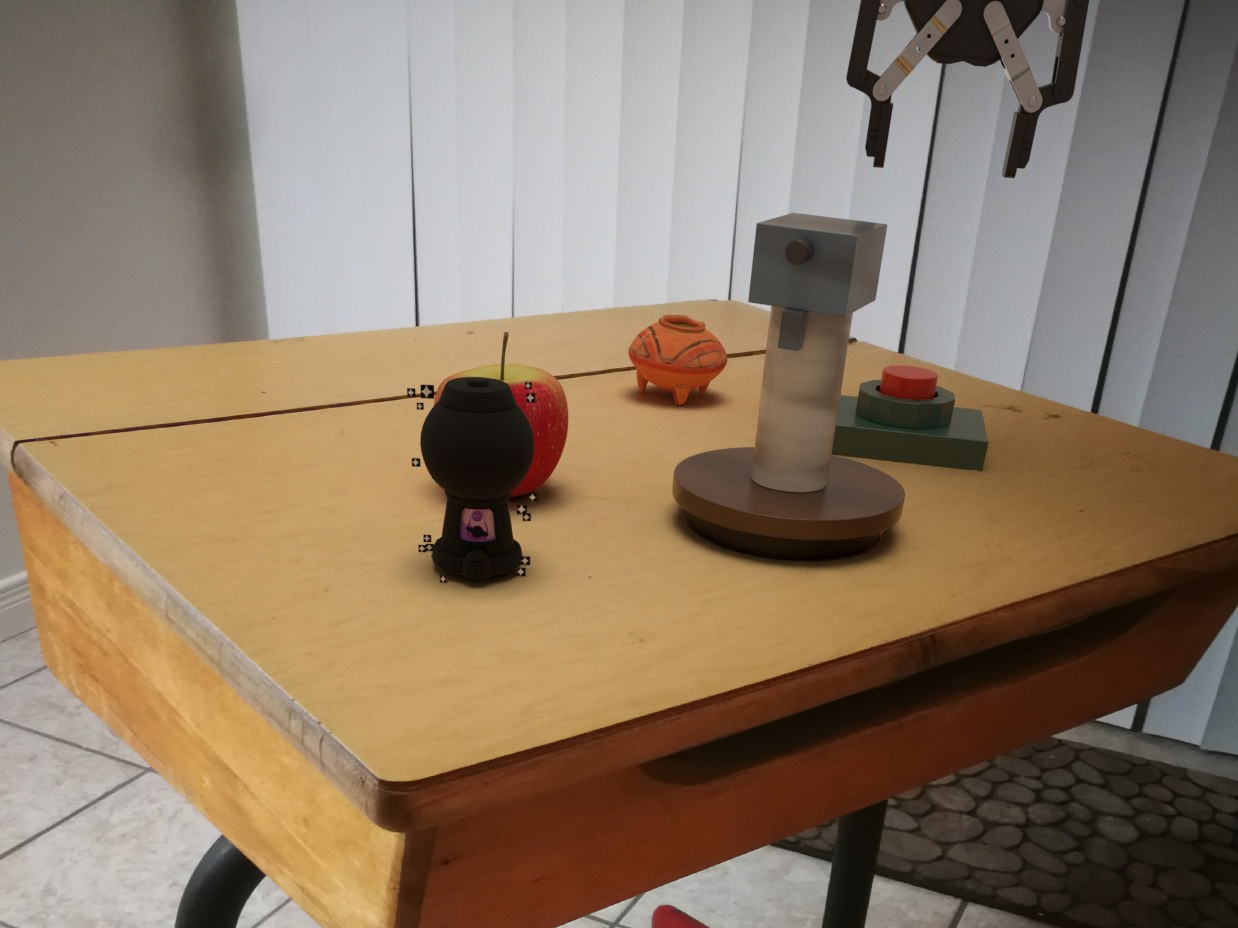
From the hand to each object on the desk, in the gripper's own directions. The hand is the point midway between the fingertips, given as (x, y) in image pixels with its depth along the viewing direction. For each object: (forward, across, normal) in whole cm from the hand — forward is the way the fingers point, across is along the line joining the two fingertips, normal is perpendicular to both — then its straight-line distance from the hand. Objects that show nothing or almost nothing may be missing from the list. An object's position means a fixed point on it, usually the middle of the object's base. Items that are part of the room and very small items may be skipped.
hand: (942, 171), depth 84 cm
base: (+18, +7, +20) cm, 28 cm away
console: (+18, 0, -1) cm, 18 cm away
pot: (+19, +18, -8) cm, 27 cm away
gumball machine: (+18, +23, +33) cm, 44 cm away
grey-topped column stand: (+17, +7, +20) cm, 27 cm away
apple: (+19, +25, +20) cm, 37 cm away
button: (+15, 0, -1) cm, 15 cm away
